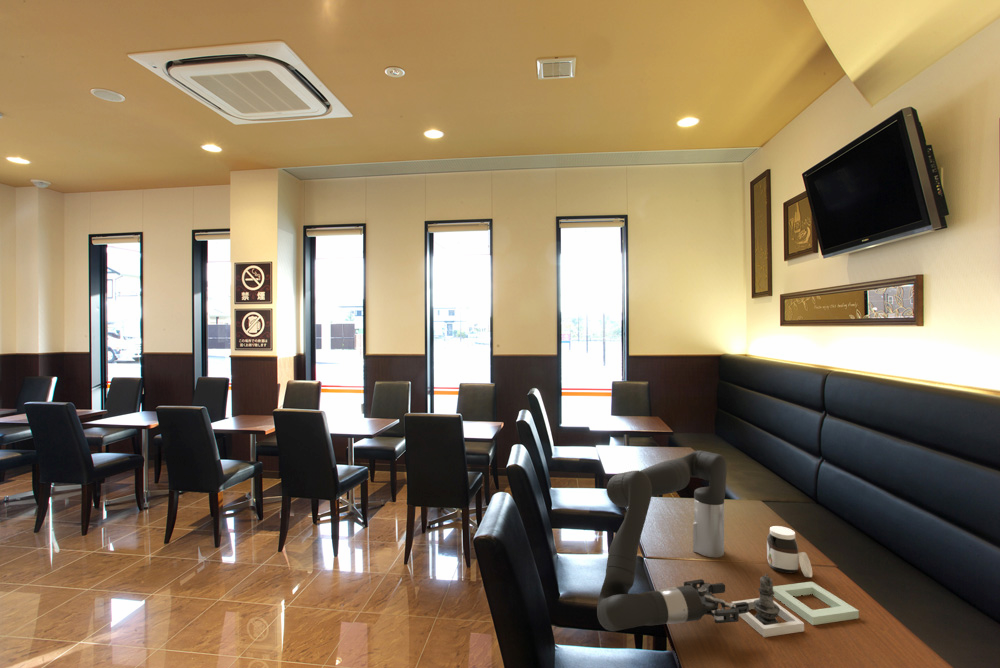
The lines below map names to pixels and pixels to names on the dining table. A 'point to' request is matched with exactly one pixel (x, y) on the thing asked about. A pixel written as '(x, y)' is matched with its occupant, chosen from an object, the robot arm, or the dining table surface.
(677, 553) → the dining table surface
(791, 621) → the white square frame
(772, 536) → the spread jar
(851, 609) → the light green square frame
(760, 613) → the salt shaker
